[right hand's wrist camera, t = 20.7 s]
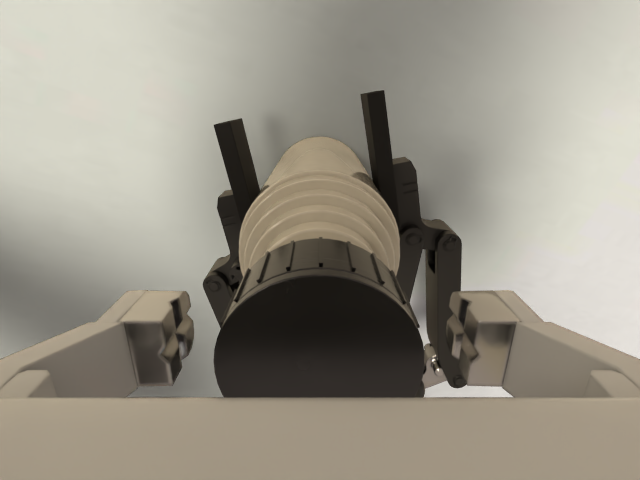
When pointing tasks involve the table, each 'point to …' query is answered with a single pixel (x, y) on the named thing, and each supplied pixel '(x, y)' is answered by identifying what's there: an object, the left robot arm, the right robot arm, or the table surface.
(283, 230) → the bottle
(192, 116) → the table surface
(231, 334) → the cap
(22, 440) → the right robot arm
